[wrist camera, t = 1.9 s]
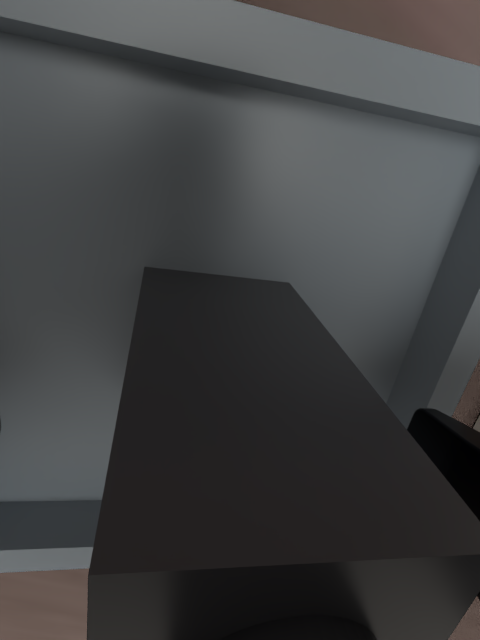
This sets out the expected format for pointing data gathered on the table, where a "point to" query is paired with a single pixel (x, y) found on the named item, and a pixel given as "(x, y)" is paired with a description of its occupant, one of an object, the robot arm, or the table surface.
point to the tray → (215, 216)
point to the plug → (266, 484)
